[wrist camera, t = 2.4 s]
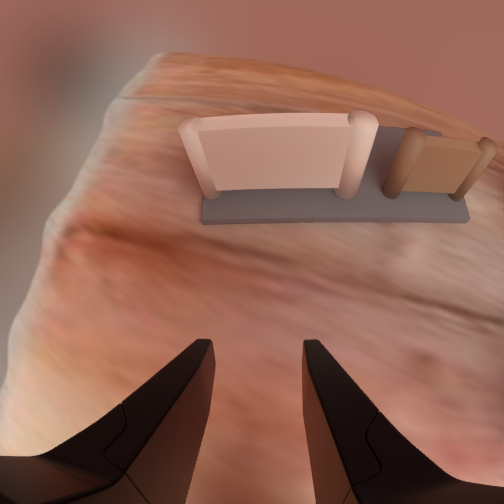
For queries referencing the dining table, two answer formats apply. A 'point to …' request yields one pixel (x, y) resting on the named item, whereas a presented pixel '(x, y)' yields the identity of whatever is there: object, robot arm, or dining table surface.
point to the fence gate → (279, 151)
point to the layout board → (374, 186)
